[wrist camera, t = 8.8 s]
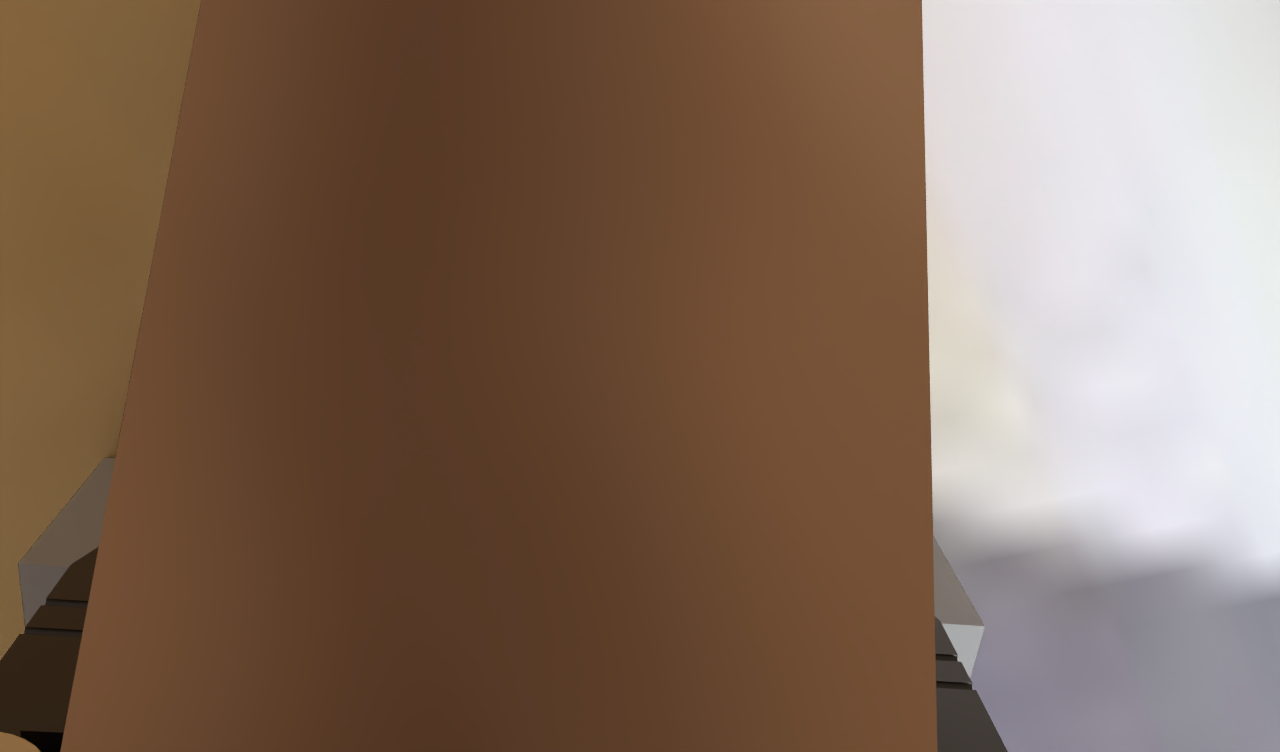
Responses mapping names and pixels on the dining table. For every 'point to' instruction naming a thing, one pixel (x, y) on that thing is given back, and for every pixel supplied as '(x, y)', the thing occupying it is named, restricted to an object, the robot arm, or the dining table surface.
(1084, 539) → the dining table surface
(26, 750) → the robot arm
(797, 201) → the rail
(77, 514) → the bracket
